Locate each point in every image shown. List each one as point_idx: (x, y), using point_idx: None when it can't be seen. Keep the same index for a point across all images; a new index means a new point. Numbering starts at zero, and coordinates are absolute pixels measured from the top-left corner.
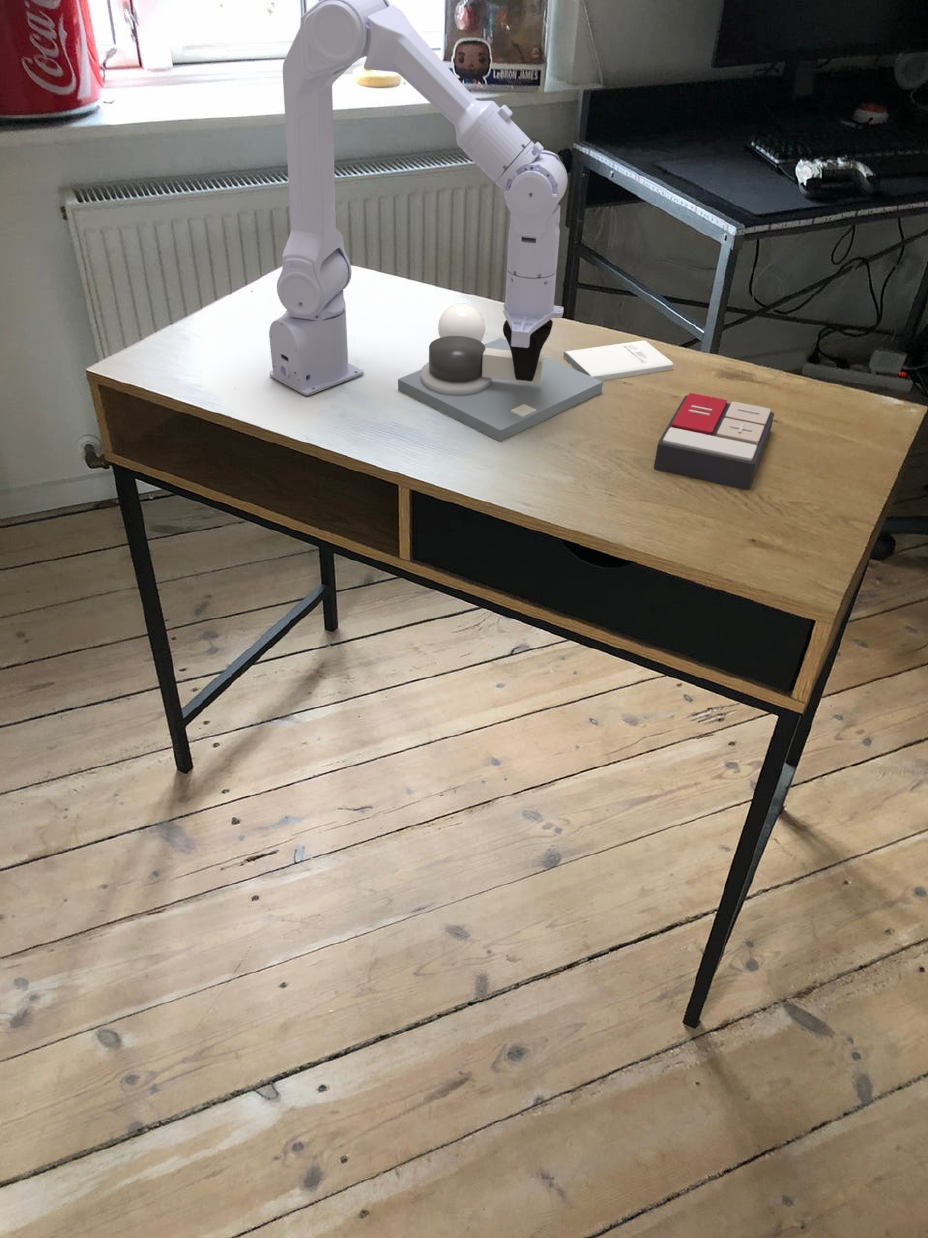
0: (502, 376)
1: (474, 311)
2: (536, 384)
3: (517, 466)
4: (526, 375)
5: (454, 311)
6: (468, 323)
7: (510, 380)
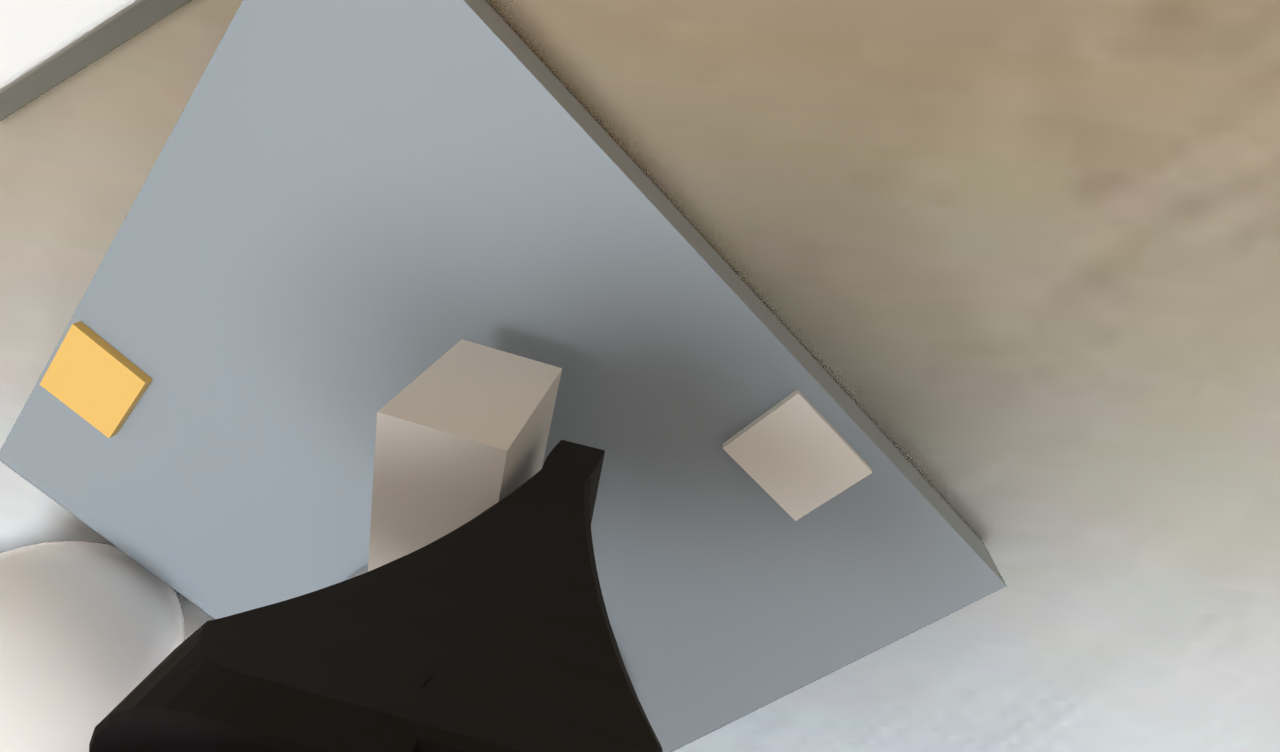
0: None
1: None
2: None
3: (1270, 498)
4: (591, 505)
5: None
6: (47, 701)
7: None
